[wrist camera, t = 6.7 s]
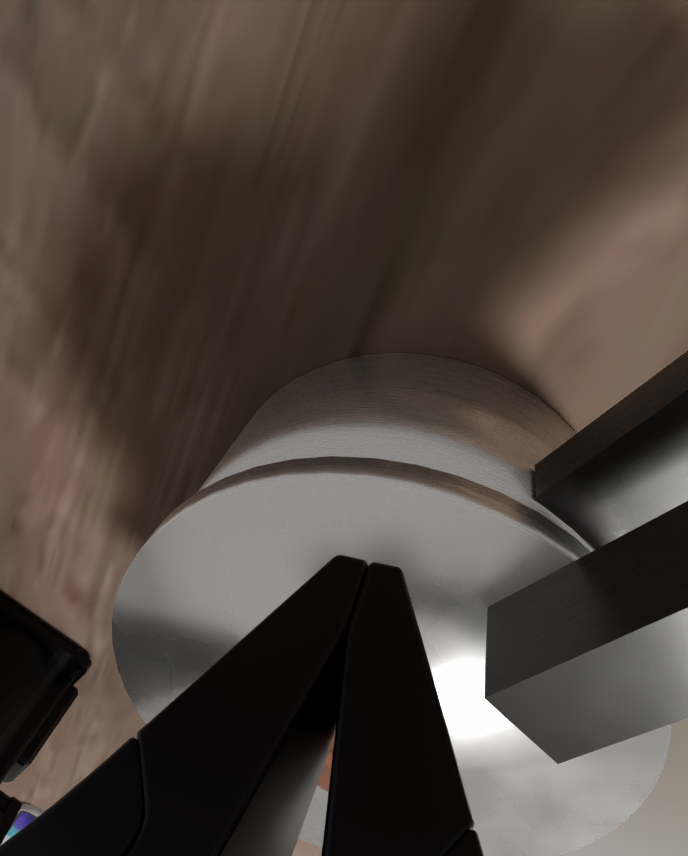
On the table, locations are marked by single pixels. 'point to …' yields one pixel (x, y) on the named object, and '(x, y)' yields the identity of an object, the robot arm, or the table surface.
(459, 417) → the pressure cooker pot
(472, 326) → the table surface
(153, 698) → the cooker lid
